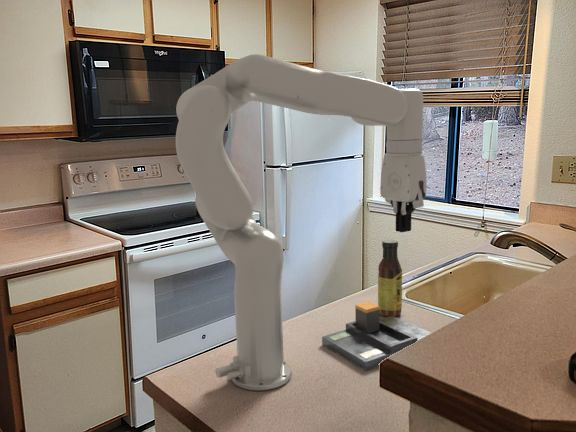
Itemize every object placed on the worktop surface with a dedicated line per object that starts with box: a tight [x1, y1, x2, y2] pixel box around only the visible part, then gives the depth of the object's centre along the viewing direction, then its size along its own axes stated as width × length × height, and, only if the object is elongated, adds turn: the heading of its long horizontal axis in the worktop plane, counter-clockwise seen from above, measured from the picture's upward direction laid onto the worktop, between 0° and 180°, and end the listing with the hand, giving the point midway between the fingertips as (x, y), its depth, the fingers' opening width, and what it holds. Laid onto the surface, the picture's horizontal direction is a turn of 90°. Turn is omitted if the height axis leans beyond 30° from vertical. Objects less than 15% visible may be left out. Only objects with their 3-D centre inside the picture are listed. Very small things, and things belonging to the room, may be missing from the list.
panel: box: [321, 316, 432, 372], centre depth 123 cm, size 22×16×4 cm
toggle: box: [354, 301, 381, 333], centre depth 126 cm, size 4×4×6 cm
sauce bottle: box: [377, 239, 403, 317], centre depth 140 cm, size 7×6×20 cm
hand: (403, 230), depth 117 cm, fingers closed
